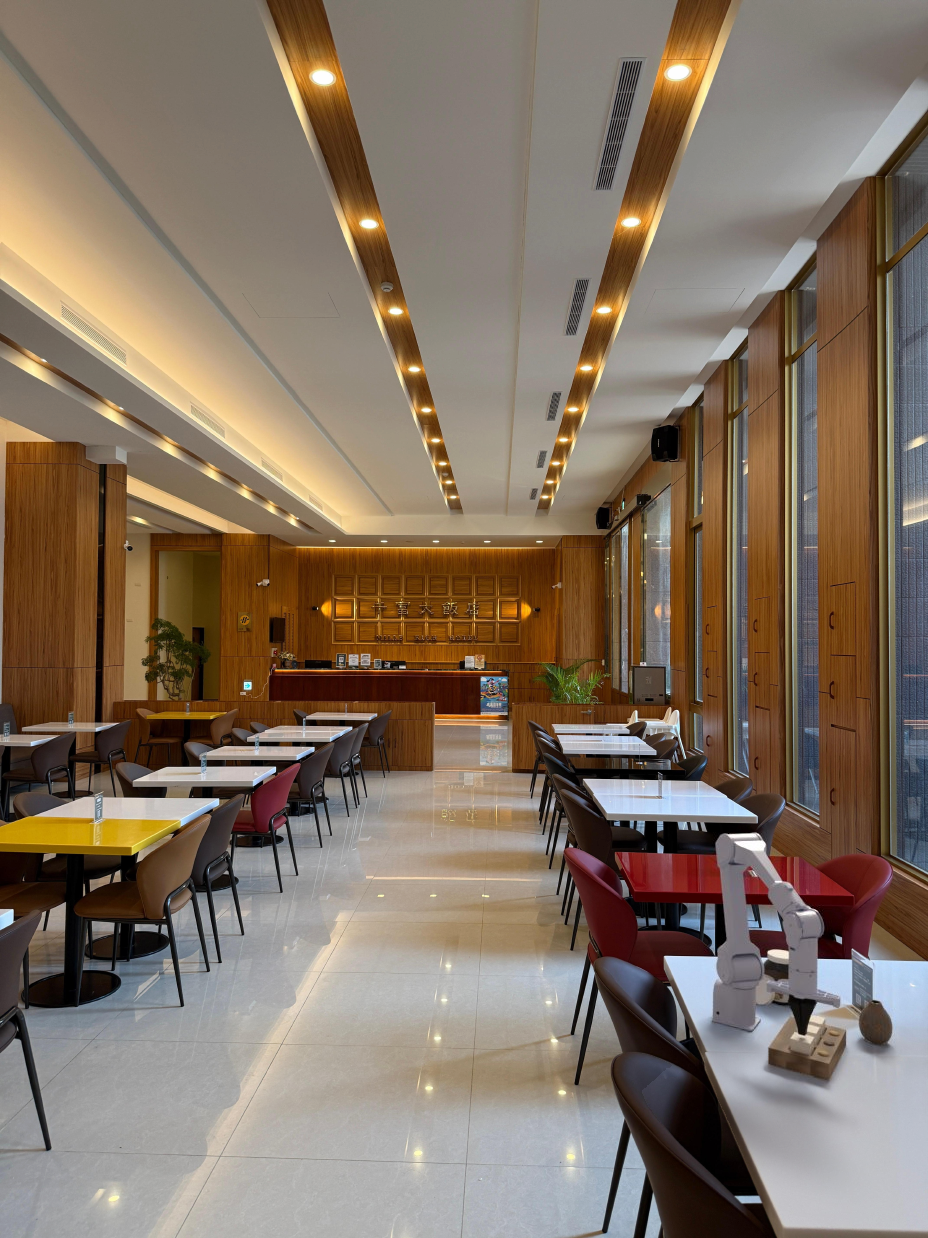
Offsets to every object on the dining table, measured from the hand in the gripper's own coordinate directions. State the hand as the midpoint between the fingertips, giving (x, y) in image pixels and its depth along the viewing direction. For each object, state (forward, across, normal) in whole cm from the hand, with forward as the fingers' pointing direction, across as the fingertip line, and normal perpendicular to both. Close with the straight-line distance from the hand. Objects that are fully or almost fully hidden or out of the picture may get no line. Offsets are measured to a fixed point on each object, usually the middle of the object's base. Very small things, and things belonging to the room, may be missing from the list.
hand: (802, 1033), depth 178 cm
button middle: (+5, 0, +6) cm, 8 cm away
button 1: (+5, 0, 0) cm, 5 cm away
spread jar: (+7, -13, +32) cm, 35 cm away
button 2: (+5, 0, +12) cm, 13 cm away
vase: (+7, +11, +23) cm, 26 cm away
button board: (+7, 0, +6) cm, 9 cm away
